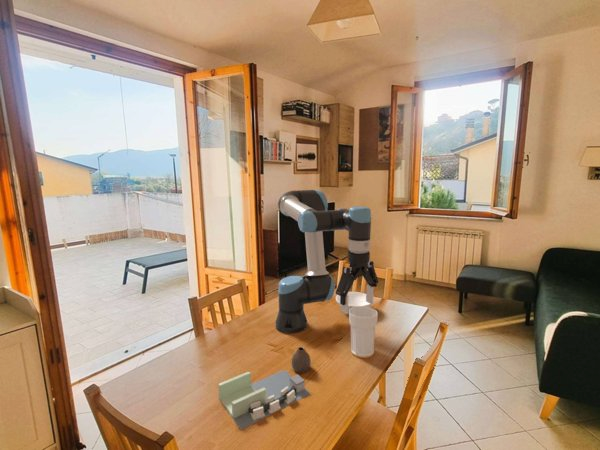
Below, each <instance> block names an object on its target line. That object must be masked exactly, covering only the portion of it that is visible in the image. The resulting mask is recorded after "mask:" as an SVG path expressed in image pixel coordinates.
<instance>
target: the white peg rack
mask: <svg viewBox="0 0 600 450" xmlns="http://www.w3.org/2000/svg"><path fill="white" fill-rule="evenodd" d="M292 386H295V387H296V391H295V390H292V391H291V392H289V393H288V394H287V400H285V401H284V402H285V403H287V404H290V403H291V402H292V401H293V400H294V399H295V398H296V396H295V392H296V393H298V392H300V391H302V390H304V389H305V388H306V383H305V378H303V377H301V375H299V373H298V374H295V375H293V376H292V377H291V378H290V387H291V388H292ZM288 391H289V389H288V387H285V388H284V389H283V390H281V396H283V395H284V394H286V393H287V392H288ZM274 400H275V396H274V395H272V396H270V397H268V398H266V399H265V404H268V403H270V402H272V401H274ZM290 405H291V404H290ZM260 406H261V402H260V401H257V402H254V403H251V404H250V408H251V409H253V408H256V409H253V413H250V414H251V417H252V419H253V420H256V419H259V418H261V417H264V416H265V414H264V408H263V406H262V407H260ZM258 407H259V408H258ZM279 409H281V407H280V406H279V400H276V401H274V402H272V403H270V409H268V410H267V411H268V412H269V413H270V414H271V413H273V412H275V411H277V410H279ZM281 410H282V409H281ZM279 411H280V410H279ZM277 412H278V411H277ZM275 413H276V412H275ZM273 414H274V413H273ZM271 415H272V414H271Z"/></svg>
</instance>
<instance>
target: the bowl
mask: <svg viewBox="0 0 600 450" xmlns="http://www.w3.org/2000/svg"><path fill="white" fill-rule="evenodd" d="M347 296H348V313H349V310H350V309H351V308H353V307H356V306H366V307H370V308H371V307H372V305H373V304H370V303H368V302H366V293H364V292H359V291H349V292H348V294H347ZM335 301H336V304H337V305H338V306H339V307H341V304H340V295H337V294H336V296H335Z"/></svg>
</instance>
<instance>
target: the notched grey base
mask: <svg viewBox="0 0 600 450" xmlns="http://www.w3.org/2000/svg"><path fill="white" fill-rule="evenodd" d="M292 390H295V391H296V387H295V386H292V388H291V389H290V390H289V391H288V392H287V393H286V394H284V395H283V396H281V397H279V398H278V399H276V400H279V404H281V403H283V402H284V401H285V400H287V394H288V393H289V392H291V391H292ZM276 400H274V401H276ZM274 401H272V402H274ZM272 402H270V403H272ZM270 403H268V404H265V405H263V408H264V412H265V411H267V410H268V409H270ZM260 407H262V406H260ZM258 408H259V407H258ZM253 409H256V408H253ZM253 409H251V408H249V413H253Z"/></svg>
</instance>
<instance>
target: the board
mask: <svg viewBox="0 0 600 450" xmlns="http://www.w3.org/2000/svg"><path fill="white" fill-rule="evenodd" d="M291 377H293V376H292V375H291V374H290V373H289V372H288V371H286V370H285V369H283V370H280V371H278V372H275V373H273V374H271V375H268V376H267V377H265V378H262V379H260V380H258V381H255V382H253V383H252V382H251V386H252V387H253V388H254V389H255V390H256V391H257V390H259V389H261V388H265V389H266V398H268V397H270V396H272V395H274V396H275V400H276V399H278V398H279V397H281V390H283V389H284V388H285V387H288V389H289V390H290V389H291V387H290V378H291ZM311 394H312V393H311V392H310V391H309V390H308V389H307V388H306V387H305V389H304V390H302V391H300V392H298V393H296V392H295V396H296V398H295V399H294V400H293V401H292V402H291V403H290V404H287V403H285V402H283V403H281V404H279V406H280V407H281V409H279V410H277V411H275V412H273V413H271V414H270V413H269V412H268V411H265V412H264V414H265V416H264V417H261V418H259V419H256V420H253V419H252V417H251V414H250V413H247V414H245V415H243V416H241V417H239V418H237V419H235V420H234V419H233V417H232V416H231V414H230V413H229V411H228V410H227V409H226V407H225V406H224V404H223V403H222V401H221V400H220V398H219V397H218V399H219V400H220V401H219V402H221V403H222V405H223V406H224V408H225V409H226V411H227V412H228V413H229V415H230V416H231V418H232V419H233V421H234V422H235V423H236V425H237V427H238V428H239V430H242V431H243V429H246V428H248V427H249V426H251V425H253V424H255V423H257V422H259V421H261V420H263V419H265V418H267V417H269V416H271V415H272V414H275V413H277V412H278V411H280V410H283V409H284V408H286V407H288V406H291V405H292V404H294V403H296V402H298V401H300V400H302V399H304V398H306V397H307V396H310V395H311Z"/></svg>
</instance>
